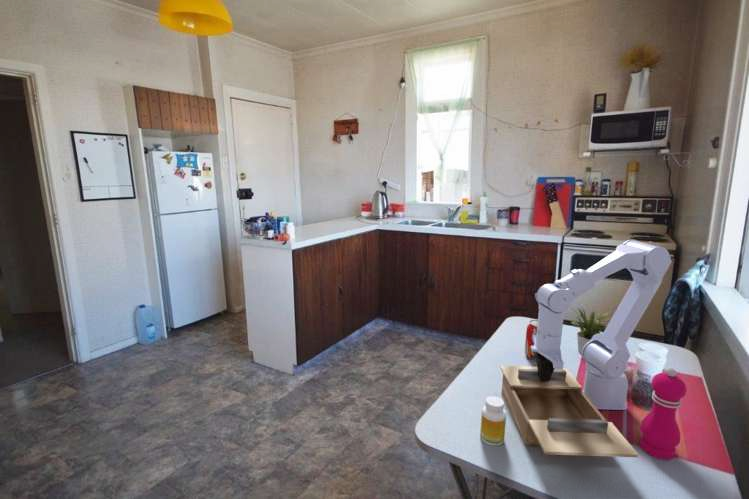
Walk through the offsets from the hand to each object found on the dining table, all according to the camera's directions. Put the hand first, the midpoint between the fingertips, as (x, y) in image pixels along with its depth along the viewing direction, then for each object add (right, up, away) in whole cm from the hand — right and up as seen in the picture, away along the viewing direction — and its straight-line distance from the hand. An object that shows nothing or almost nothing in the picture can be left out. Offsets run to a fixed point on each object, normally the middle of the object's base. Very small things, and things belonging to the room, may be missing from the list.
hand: (544, 380), depth 101 cm
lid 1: (0, -1, +3) cm, 4 cm away
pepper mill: (+19, -11, -14) cm, 26 cm away
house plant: (+26, -1, +31) cm, 41 cm away
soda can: (+9, -2, +28) cm, 29 cm away
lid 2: (-1, -6, -19) cm, 20 cm away
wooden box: (0, -9, -3) cm, 9 cm away
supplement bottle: (-17, -10, -10) cm, 22 cm away
